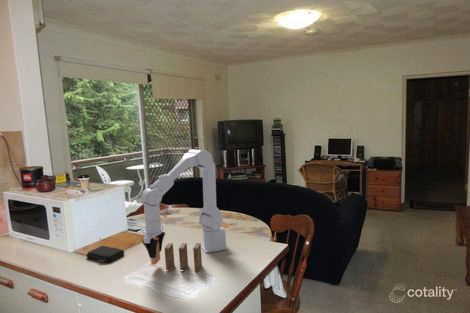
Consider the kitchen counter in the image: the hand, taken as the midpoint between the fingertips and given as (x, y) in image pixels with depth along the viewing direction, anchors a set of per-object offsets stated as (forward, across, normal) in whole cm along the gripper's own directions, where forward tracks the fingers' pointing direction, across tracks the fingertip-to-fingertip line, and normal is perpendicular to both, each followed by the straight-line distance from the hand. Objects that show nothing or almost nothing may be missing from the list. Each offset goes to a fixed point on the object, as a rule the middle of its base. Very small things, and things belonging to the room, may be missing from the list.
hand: (155, 254), depth 125 cm
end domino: (+3, 0, 0) cm, 3 cm away
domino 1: (+5, 0, +6) cm, 8 cm away
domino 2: (+5, 0, +11) cm, 12 cm away
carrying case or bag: (+6, -10, -27) cm, 29 cm away
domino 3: (+5, 0, +16) cm, 17 cm away
